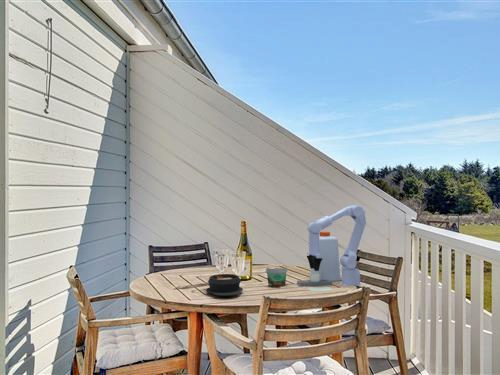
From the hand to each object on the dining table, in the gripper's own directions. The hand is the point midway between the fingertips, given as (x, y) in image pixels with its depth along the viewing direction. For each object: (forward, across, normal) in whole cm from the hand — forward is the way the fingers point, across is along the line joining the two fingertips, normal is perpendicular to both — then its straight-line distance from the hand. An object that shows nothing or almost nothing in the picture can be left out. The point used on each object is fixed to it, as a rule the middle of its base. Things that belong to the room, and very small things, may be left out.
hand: (314, 269), depth 213 cm
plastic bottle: (+9, -14, +11) cm, 20 cm away
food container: (+9, -1, -20) cm, 22 cm away
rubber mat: (+9, +10, 0) cm, 13 cm away
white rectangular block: (+8, 0, 0) cm, 8 cm away
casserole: (+9, +9, -50) cm, 52 cm away
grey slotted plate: (+9, 0, 0) cm, 9 cm away
